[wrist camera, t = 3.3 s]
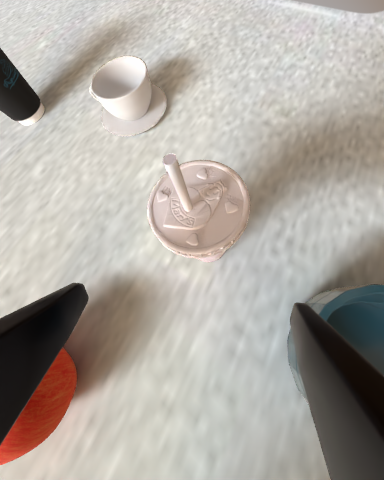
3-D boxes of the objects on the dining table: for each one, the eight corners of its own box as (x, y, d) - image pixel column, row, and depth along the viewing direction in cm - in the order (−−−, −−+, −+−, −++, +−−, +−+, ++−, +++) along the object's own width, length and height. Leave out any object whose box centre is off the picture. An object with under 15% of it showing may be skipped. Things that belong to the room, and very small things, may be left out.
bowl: (481, 391, 14) (589, 430, 10) (355, 477, 14) (412, 554, 10) (359, 264, 18) (402, 254, 14) (259, 331, 18) (269, 341, 14)
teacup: (173, 84, 29) (164, 45, 24) (159, 139, 26) (146, 107, 22) (113, 87, 31) (94, 51, 26) (94, 138, 28) (70, 108, 24)
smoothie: (168, 239, 22) (82, 146, 9) (215, 206, 22) (202, 67, 9) (201, 287, 20) (153, 264, 6) (252, 251, 20) (308, 157, 7)
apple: (70, 316, 21) (-18, 326, 13) (108, 385, 18) (27, 445, 11) (9, 369, 20) (-117, 410, 13) (40, 448, 18) (-95, 559, 10)
